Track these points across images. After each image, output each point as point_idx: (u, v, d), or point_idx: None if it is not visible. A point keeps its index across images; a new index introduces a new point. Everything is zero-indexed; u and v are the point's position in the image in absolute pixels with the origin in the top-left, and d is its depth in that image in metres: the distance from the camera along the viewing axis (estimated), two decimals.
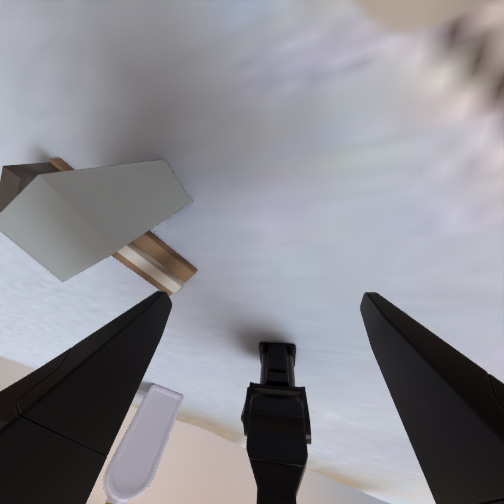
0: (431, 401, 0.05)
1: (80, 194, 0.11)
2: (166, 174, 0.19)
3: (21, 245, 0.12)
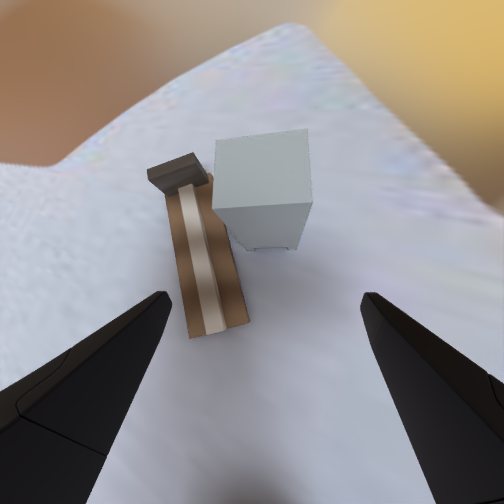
0: (431, 401, 0.05)
1: None
2: None
3: (218, 163, 0.12)
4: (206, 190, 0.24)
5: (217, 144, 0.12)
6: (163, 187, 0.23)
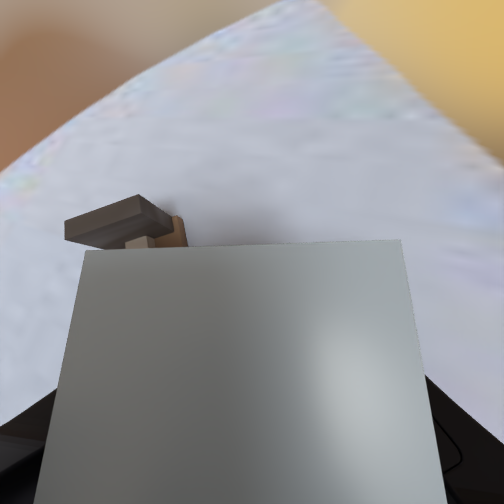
0: None
1: None
2: None
3: (77, 345, 0.03)
4: (170, 243, 0.16)
5: (87, 267, 0.04)
6: (98, 243, 0.15)
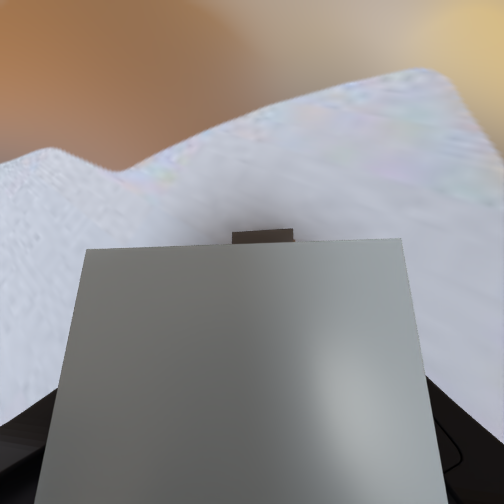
0: None
1: None
2: None
3: (78, 344, 0.03)
4: None
5: (87, 266, 0.04)
6: None
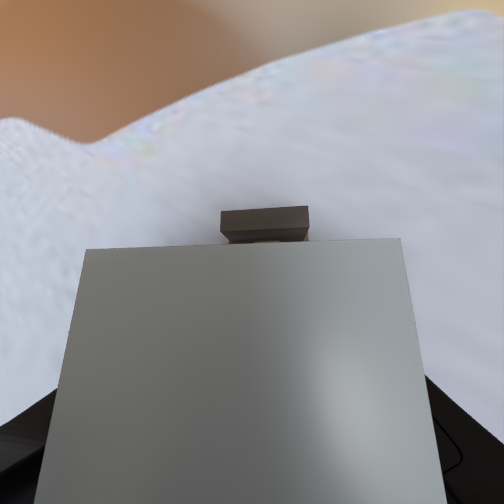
0: None
1: None
2: None
3: (77, 344, 0.03)
4: None
5: (87, 266, 0.04)
6: (235, 238, 0.14)
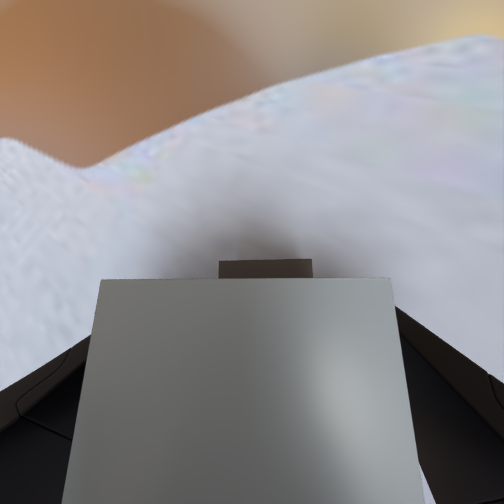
0: (431, 401, 0.05)
1: None
2: None
3: (94, 370, 0.04)
4: None
5: (102, 295, 0.04)
6: None
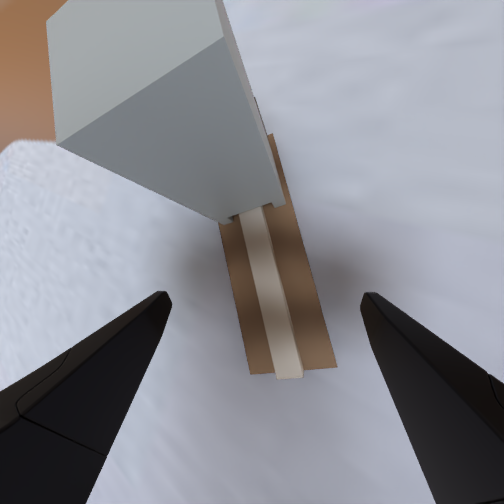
0: (431, 401, 0.05)
1: None
2: (272, 157, 0.15)
3: (54, 60, 0.06)
4: None
5: (48, 27, 0.06)
6: None
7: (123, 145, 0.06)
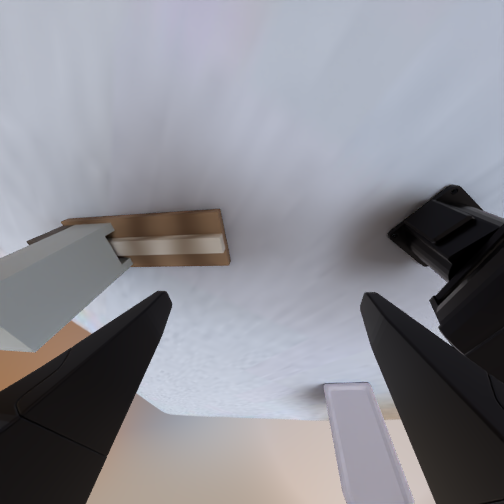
0: (431, 401, 0.05)
1: None
2: (73, 230, 0.21)
3: (2, 348, 0.15)
4: None
5: None
6: None
7: (35, 329, 0.15)
